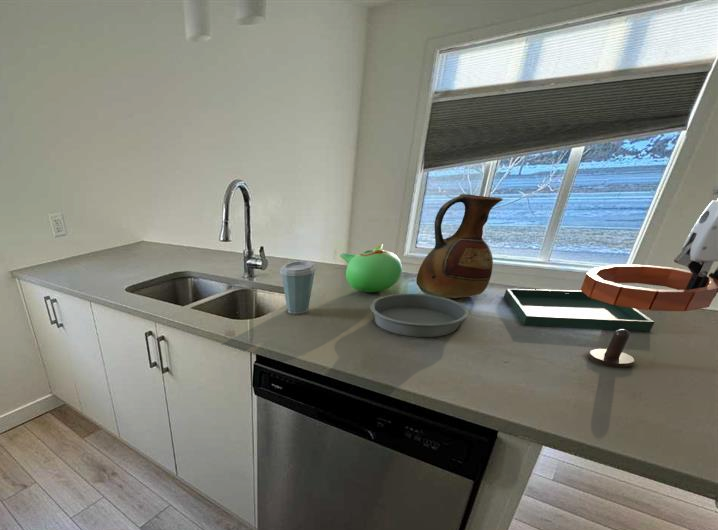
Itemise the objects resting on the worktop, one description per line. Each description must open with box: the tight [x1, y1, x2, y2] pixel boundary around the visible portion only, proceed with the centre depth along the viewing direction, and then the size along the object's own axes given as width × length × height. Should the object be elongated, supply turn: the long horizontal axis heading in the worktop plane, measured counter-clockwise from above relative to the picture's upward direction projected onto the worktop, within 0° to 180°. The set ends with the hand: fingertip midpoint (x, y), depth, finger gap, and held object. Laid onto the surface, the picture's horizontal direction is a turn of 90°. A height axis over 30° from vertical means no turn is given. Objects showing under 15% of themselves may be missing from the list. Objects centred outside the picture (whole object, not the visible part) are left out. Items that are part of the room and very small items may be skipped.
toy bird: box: [339, 243, 403, 293], centre depth 138 cm, size 18×17×15 cm
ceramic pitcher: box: [416, 193, 504, 300], centre depth 124 cm, size 20×20×30 cm
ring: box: [580, 264, 718, 312], centre depth 80 cm, size 18×18×4 cm
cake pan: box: [370, 293, 470, 338], centre depth 113 cm, size 25×25×4 cm
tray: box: [503, 288, 655, 333], centre depth 111 cm, size 26×24×3 cm
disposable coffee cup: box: [280, 259, 316, 315], centre depth 126 cm, size 11×11×15 cm
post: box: [587, 329, 635, 369], centre depth 87 cm, size 7×7×7 cm
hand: (699, 294), depth 78 cm, fingers closed on ring, 1 cm apart
